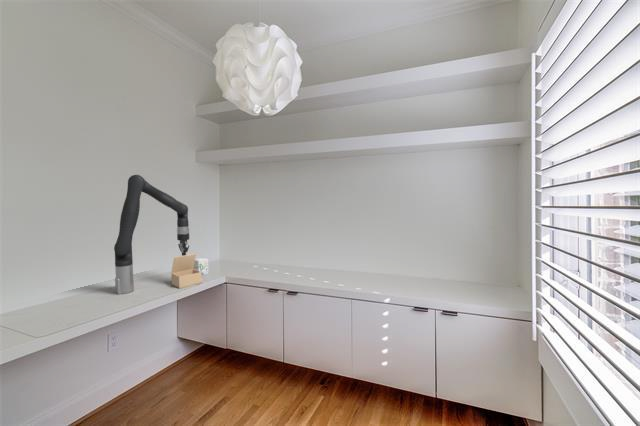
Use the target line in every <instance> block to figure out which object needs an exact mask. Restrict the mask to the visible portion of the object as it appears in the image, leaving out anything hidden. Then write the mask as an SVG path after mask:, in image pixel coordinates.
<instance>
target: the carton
mask: <svg viewBox="0 0 640 426" xmlns="http://www.w3.org/2000/svg"><path fill="white" fill-rule="evenodd" d="M201 284H203V275H202V272H200V271H197V270H194V269H192V270H186V271H181V272H176V273H172V272H171V286H173V287H174V288H175V287H176V288H177V289H178V290H179V289H180V290H181V289H185V288H189V287H194V286H198V285H201Z"/></svg>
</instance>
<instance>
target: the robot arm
mask: <svg viewBox="0 0 640 426" xmlns="http://www.w3.org/2000/svg"><path fill="white" fill-rule="evenodd" d="M126 190H127V191H126V196H125V199H124V202H123V206H122V210H121V213H120V219H119V229H118V230H119V232H118V236H117V239H116V242H115V244H114V247H113V250H114V267H115V278H114V281H115V282H114V283H115V293H116V294H117V295H124V294H129V293H132V292H134V291H135V286H134V285H135V284H134V281H135V280H134V267H133V266H134V265H133V264H134V263H133V247H132V246H133V235H134V232H135V228H136V226H137V223H138V220H139V219H138V218H139V215H140V207H141V205H140V204H141V203H140V202H141V201H140V200H141V197H142V196H141V195H142V193H143V194H146V195H148V196H150V197H151V198H152V199H154V200H156V201H157V202H159V203H161V204H163V205H164V206H166V207H167V208H170V209H171V210H173V211H174V212H175V213H176V215H177V216H176V217H177V221H176V225H177V227H176V236H177V237H176V238H177V239H176V240H177V241H179V243H178V244H177V246H178V249H179V250H180V252H181V256H184V255H187V253H188V251H189V249H190V245H189V244H188V241H189V240H190V228H189V218H188V217H189V208H188V206H187V205H186V204H184V203H183V202H181V201H179V200H177V199H176V198H175V197H173V196H171V195H170V194H168V193H167V192H164V191H162V190H160V189H158V188H156V187H155V186H153V185H151V183H150V182H148V181H147V180H145V178H144V177H143V176H142V175H140V174H133V175H130V177H129V178H128V179H127V189H126Z"/></svg>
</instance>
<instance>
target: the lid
mask: <svg viewBox="0 0 640 426" xmlns="http://www.w3.org/2000/svg"><path fill="white" fill-rule="evenodd" d="M196 256H197V254H196V253H192V254H186V255H184V256H182V255H179V256H178V255H177V256H174V257H173V261H172V266H171V267H172V268H171V273H176V272H181V271H186V270H192V269H193V267H194V262H195V259H196Z"/></svg>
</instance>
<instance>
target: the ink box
mask: <svg viewBox="0 0 640 426" xmlns="http://www.w3.org/2000/svg"><path fill="white" fill-rule="evenodd" d="M193 269H194V270H197V271H200V272H202V276H204V275H207V274H209V258H205V257H201V258H200V257H199V258H195V262H194V267H193Z"/></svg>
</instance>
